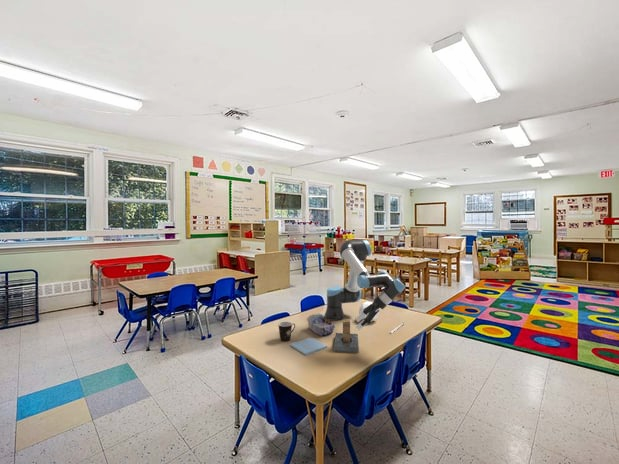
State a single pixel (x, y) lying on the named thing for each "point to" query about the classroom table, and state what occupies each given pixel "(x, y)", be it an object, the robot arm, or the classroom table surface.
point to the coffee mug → (285, 330)
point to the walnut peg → (346, 330)
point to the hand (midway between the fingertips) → (357, 324)
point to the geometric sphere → (364, 308)
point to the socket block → (346, 343)
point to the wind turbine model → (396, 328)
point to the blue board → (308, 346)
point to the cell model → (320, 324)
